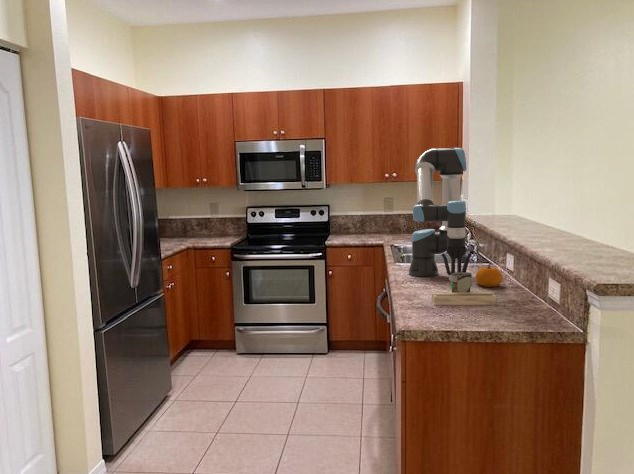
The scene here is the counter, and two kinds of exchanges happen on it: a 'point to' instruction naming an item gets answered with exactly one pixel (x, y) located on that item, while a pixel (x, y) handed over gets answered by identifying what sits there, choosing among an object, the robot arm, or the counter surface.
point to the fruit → (488, 277)
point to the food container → (460, 282)
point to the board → (464, 298)
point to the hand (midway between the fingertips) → (456, 290)
